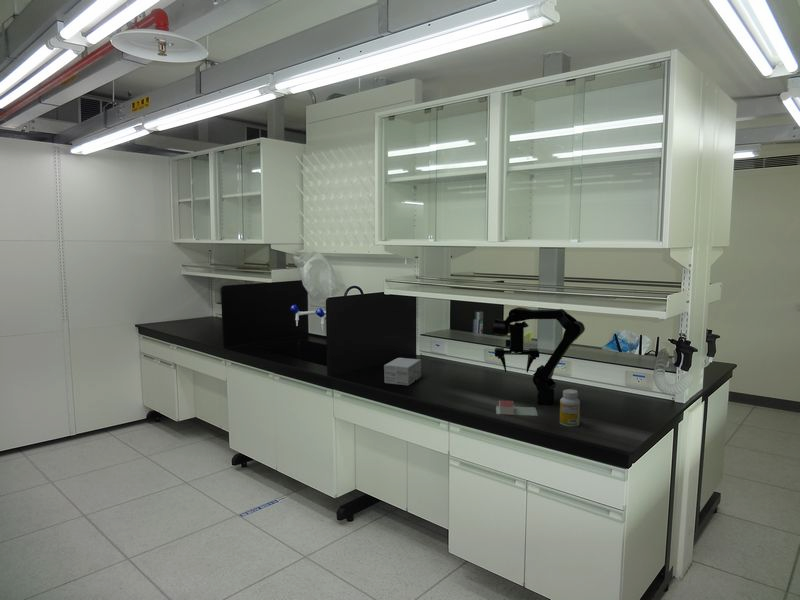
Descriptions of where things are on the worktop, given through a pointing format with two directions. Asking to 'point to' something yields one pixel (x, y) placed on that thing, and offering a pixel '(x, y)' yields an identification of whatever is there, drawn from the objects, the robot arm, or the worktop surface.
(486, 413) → the worktop surface
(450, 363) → the worktop surface
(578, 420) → the supplement bottle
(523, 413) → the mat
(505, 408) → the card deck
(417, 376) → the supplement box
